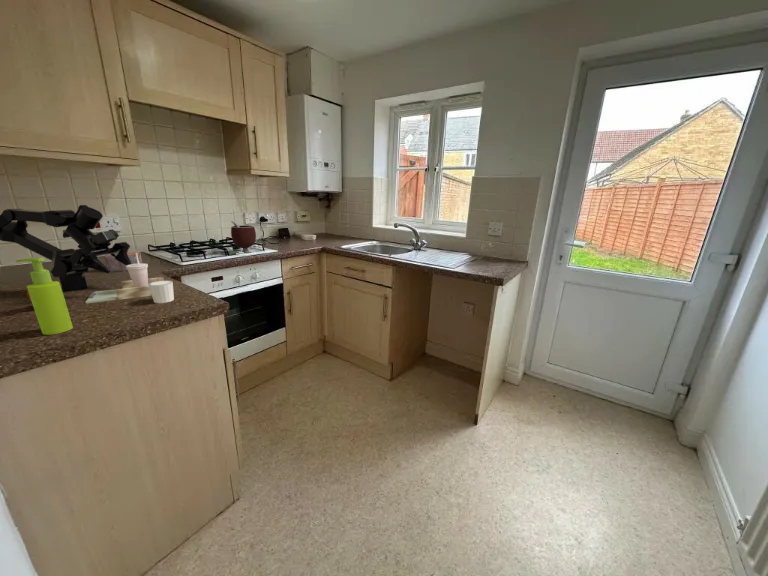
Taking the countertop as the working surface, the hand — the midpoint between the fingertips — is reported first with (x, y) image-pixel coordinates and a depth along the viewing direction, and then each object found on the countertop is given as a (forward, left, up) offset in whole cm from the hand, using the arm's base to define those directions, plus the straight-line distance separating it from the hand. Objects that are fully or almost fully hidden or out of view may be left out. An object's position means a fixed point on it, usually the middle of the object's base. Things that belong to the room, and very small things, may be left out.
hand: (120, 269), depth 113 cm
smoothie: (+5, -4, -8) cm, 11 cm away
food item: (-5, +44, -9) cm, 45 cm away
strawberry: (-19, -9, -9) cm, 23 cm away
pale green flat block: (-5, -4, -9) cm, 11 cm away
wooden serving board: (+6, -4, -9) cm, 11 cm away
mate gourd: (+52, +64, -9) cm, 82 cm away
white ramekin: (+13, -19, -9) cm, 25 cm away
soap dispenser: (-11, -32, -9) cm, 35 cm away
